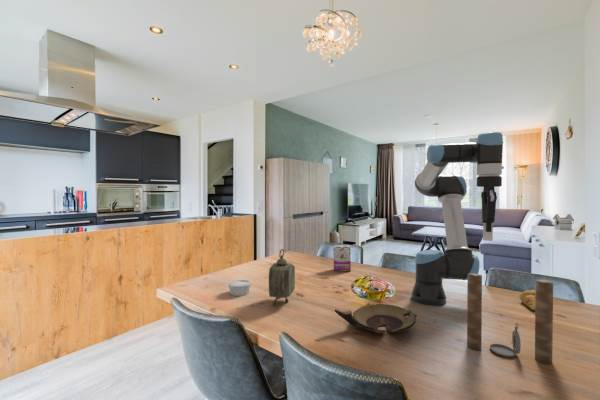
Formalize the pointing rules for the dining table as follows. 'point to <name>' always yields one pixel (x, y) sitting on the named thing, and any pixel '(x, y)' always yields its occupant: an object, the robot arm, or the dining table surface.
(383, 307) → the oil lamp
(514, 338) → the pocket watch
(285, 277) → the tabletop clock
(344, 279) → the dining table surface
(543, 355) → the post right
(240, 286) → the ramekin
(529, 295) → the croissant
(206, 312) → the dining table surface
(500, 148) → the robot arm
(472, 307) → the post left
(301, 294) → the dining table surface
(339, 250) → the candy bar box
